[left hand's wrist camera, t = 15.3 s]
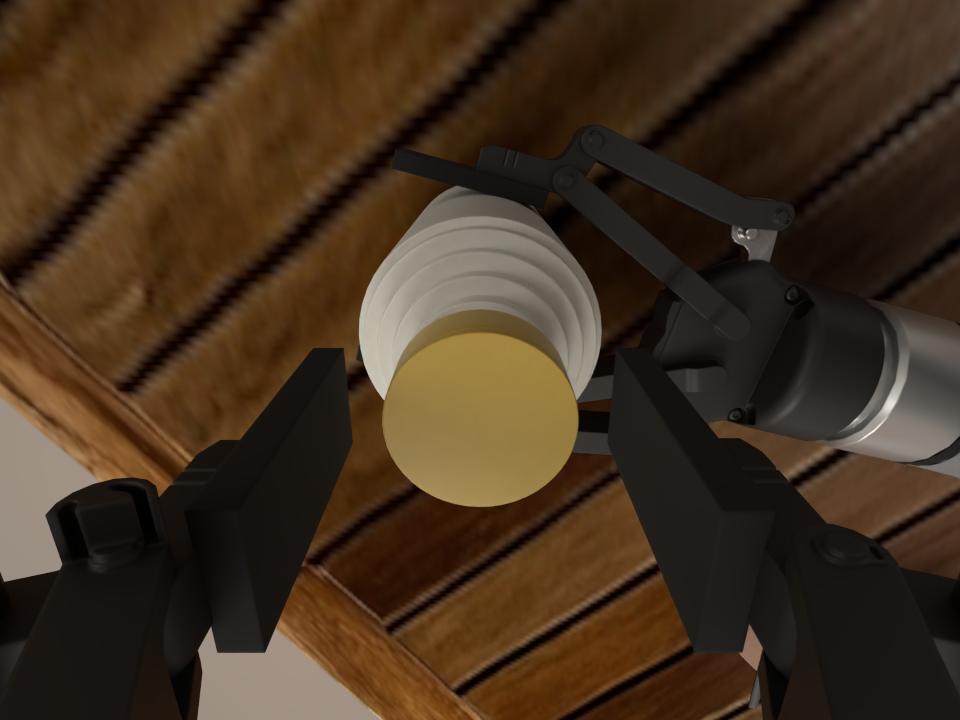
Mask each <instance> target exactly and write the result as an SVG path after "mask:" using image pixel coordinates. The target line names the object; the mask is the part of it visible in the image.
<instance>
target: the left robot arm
mask: <svg viewBox="0 0 960 720" xmlns="http://www.w3.org/2000/svg"><path fill="white" fill-rule="evenodd" d="M352 444H353V440H352V430H351V419H350V409H349V399H348V388H347V378H346V368H345V357H344V348H313V349H312V351H311V352H310V353H309V354H308V356H307V357H306V358H305V359H304V361H303V362H302V363H301V364H300V366H299V367H298V368H297V369H296V371H295V372H294V373H293V374H292V376H291V377H290V378H289V379H288V381H287V382H286V383H285V384H284V386H283V387H282V388H281V389H280V391H279V392H278V393H277V394H276V396H275V397H274V398H273V399H272V401H271V402H270V403H269V404H268V406H267V407H266V408H265V409H264V411H263V412H262V413H261V414H260V416H259V417H258V418H257V419H256V421H255V422H254V423H253V424H252V426H251V427H250V428H249V429H248V431H247V432H246V433H245V434H244V436H243V437H242V438H241V440H220V441H218V442H217V443H215V444H213V445H212V446H210V447H208V448H207V449H205V450H203V451H202V452H200V453H198V455H197V456H196V457H195V458H194V459H193V460H192V461H191V462H190V463H189V465H188V466H187V467H186V468H185V469H184V470H185V471H184V472H181V473H180V475H179V476H178V477H177V478H176V479H175V480H174V481H173V485H170V486H169V487H168V488H167V489H166V490H165V491H164V492H163V494H162V495H161V496H160V497H159V496H158V492H157V488H156V486H155V485H154V484H153V483H151V482H150V481H148V480H145V479H139V478H133V477H132V478H120V479H112V480H108V481H104V482H100V483H96V484H92V485H90V486H88V487H85V488H83V489H80V490H78V491H76V492H73V493H72V494H70V495H68V496H67V497H65V498H64V499H62V500H61V501H59V502H57V503H56V504H55V505H54V506H53V507H52V508H51V509H50V511H49V512H48V513H47V514H46V518H47V521H48V524H49V527H50V530H51V533H52V536H53V538H54V541H55V544H56V547H57V550H58V553H59V556H60V558H61V561H62V567H61V569H60V570H58V571H54V572H50V573H45V574H40V575H35V576H30V577H26V578H21V579H16V580H11V581H7V582H4V581H3V578H2V576H1V573H0V720H197V716H198V707H199V698H200V689H201V680H202V667H201V661H200V657H199V653H198V649H199V647H200V645H201V643H202V642H203V640H204V638H205V636H206V634H207V633H208V631H209V629H210V627H211V628H212V632H213V636H214V640H215V644H216V649H217V652H218V653H265V652H266V649H267V647H268V644H269V642H270V640H271V637H272V635H273V632H274V630H275V628H276V625H277V623H278V620H279V618H280V616H281V613H282V611H283V609H284V606H285V604H286V601H287V599H288V597H289V594H290V592H291V589H292V587H293V585H294V582H295V580H296V578H297V575H298V573H299V570H300V568H301V566H302V563H303V561H304V558H305V556H306V554H307V551H308V549H309V546H310V544H311V542H312V539H313V537H314V535H315V532H316V530H317V527H318V525H319V523H320V520H321V518H322V515H323V513H324V511H325V508H326V506H327V504H328V501H329V499H330V496H331V494H332V492H333V489H334V487H335V484H336V482H337V480H338V477H339V475H340V472H341V470H342V468H343V465H344V463H345V461H346V458H347V456H348V453H349V451H350V449H351V446H352ZM607 444H608V446H609V449H610V451H611V453H612V456H613V458H614V461H615V463H616V465H617V468H618V470H619V472H620V475H621V477H622V480H623V482H624V484H625V487H626V489H627V492H628V494H629V496H630V499H631V501H632V504H633V506H634V508H635V511H636V513H637V515H638V518H639V520H640V523H641V525H642V527H643V530H644V532H645V535H646V537H647V539H648V542H649V544H650V546H651V549H652V551H653V554H654V556H655V558H656V561H657V563H658V566H659V568H660V570H661V573H662V575H663V578H664V580H665V582H666V585H667V587H668V589H669V592H670V594H671V597H672V599H673V601H674V604H675V606H676V609H677V611H678V613H679V616H680V618H681V620H682V623H683V625H684V628H685V630H686V632H687V635H688V637H689V640H690V642H691V644H692V647H693V649H694V652H695V653H743V649H744V645H745V640H746V636H747V632H748V628H749V624H750V626H751V628H752V630H753V632H754V633H755V635H756V637H757V639H758V641H759V642H760V644H761V646H762V648H763V649H762V653H761V657H760V661H759V665H758V669H757V673H756V677H755V681H754V684H753V688H752V692H751V697H750V703H749V708H753V709H756V710H757V706H758V702H759V699H760V697H761V705H762V714H763V720H960V573H959V576H958V578H957V580H956V579H951V578H946V577H942V576H937V575H932V574H927V573H922V572H918V571H913V570H908V569H904V568H900V567H899V565H898V563H897V562H896V561H895V560H894V558H893V557H892V556H891V554H890V553H889V552H888V551H887V550H886V549H885V548H883V547H882V546H881V545H879V544H878V543H877V542H875V541H874V540H873V539H871V538H869V537H866V536H864V535H862V534H860V533H858V532H856V531H854V530H851V529H848V528H844V527H841V526H837V525H834V524H827V523H826V522H825V521H824V520H823V519H822V518H821V516H820V515H819V514H818V513H817V512H816V511H815V510H814V509H813V508H812V506H811V505H810V504H809V503H808V502H807V501H806V500H805V499H804V498H803V497H802V495H801V494H800V493H799V492H798V491H797V490H796V489H795V488H794V487H793V485H792V484H791V483H788V480H787V479H786V478H785V477H784V475H783V474H782V473H781V472H780V471H779V470H776V467H775V466H774V464H773V463H772V462H771V461H770V460H769V459H768V458H767V457H766V456H765V454H764V453H763V452H762V451H760V450H758V449H757V448H755V447H753V446H752V445H750V444H748V443H747V442H745V441H743V440H742V439H740V438H718V437H717V436H716V434H715V433H714V432H713V431H712V429H711V428H710V427H709V426H708V424H707V423H706V422H705V421H704V419H703V418H702V417H701V416H700V414H699V413H698V412H697V411H696V409H695V408H694V407H693V406H692V404H691V403H690V402H689V401H688V399H687V398H686V397H685V396H684V394H683V393H682V392H681V391H680V389H679V388H678V387H677V386H676V384H675V383H674V382H673V381H672V379H671V378H670V377H669V376H668V374H667V373H666V372H665V371H664V369H663V368H662V367H661V366H660V364H659V363H658V362H657V361H656V359H655V358H654V357H653V356H652V354H651V353H650V352H649V351H648V349H647V348H616V357H615V368H614V378H613V388H612V399H611V409H610V419H609V430H608V440H607Z"/></svg>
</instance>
